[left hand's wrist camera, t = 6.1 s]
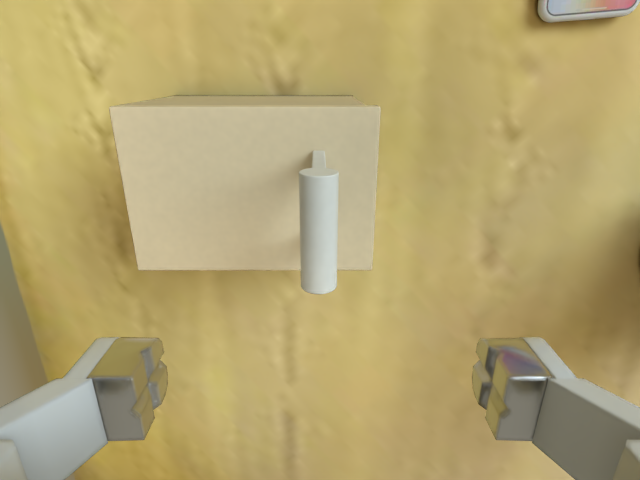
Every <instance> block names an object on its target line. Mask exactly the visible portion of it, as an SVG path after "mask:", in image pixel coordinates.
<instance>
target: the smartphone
mask: <svg viewBox="0 0 640 480" xmlns="http://www.w3.org/2000/svg"><path fill="white" fill-rule="evenodd" d="M639 2H640V0H539V1H538V14H539V16H540V18H541V19H542V20H544V21H545V22H562V21H574V20H589V19H598V18H610V17H621V16H625V15H628V14H629V13H631V12H632V11H633V10H634V9H635V8H636V7H637V6H638V4H639Z"/></svg>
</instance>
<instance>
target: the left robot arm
mask: <svg viewBox="0 0 640 480" xmlns="http://www.w3.org/2000/svg"><path fill="white" fill-rule="evenodd" d="M163 353H164V349H163V344H162V341H161V340H160V339H159V338H135V337H120V338H119V337H100V338H98V339H96V340H95V341H94V342H93V343H92V344H91V346H90V347H89V348H88V349H87V350H86V352H85V353H84V354H83V355H82V356H81V357H80V359H79V360H78V361H77V362H76V363H75V364H74V366H73V367H72V368H71V369H70V370H69V372H68V373H67V374H66V375H65V376H64V377H63V379H54V380H53V381H51V382H49V383H47V384H45V385H43V386H41V387H39V388H37V389H35V390H33V391H31V392H29V393H27V394H25V395H23V396H22V397H20V398H18V399H16V400H14V401H12V402H10V403H8V404H6V405H4V406H2V407H0V480H65V479H66V478H67V477H68V476H70V475H71V474H72V473H73V472H74V471H75V470H77V469H78V468H79V467H80V466H81V465H82V464H84V463H85V462H86V461H87V460H88V459H90V458H91V457H92V456H93V455H94V454H95V453H97V452H98V451H99V450H100V449H101V448H102V447H104V446H105V445H106V444H107V443H108V441H124V440H144V439H145V437H146V435H147V433H148V431H149V429H150V427H151V425H152V423H153V420H154V418H155V417H154V411H153V410H154V409H155V408H157V407H158V406H159V405H161V404H162V402H163V399H164V397H165V395H166V390H167V385H168V372H167V366H166V365H165V364H164V363H163V362H162V361H161V360H160V359H161V357H162V355H163ZM476 353H477V355H478V357H479V359H480V360H479V361H478V362H477V363H476V364H475V365H474V366H473V373H472V384H473V391H474V394H475V397H476V399H477V402H478V404H479V405H481V406H482V407H483V408H485V409H486V410H487V411H486V417H485V418H486V421H487V423H488V425H489V427H490V429H491V431H492V433H493V435H494V437H495V439H496V440H515V441H532V443H533V444H534V445H535V446H537V447H538V448H539V449H540V450H541V451H542V452H544V453H545V454H546V455H547V456H548V457H549V458H551V459H552V460H553V461H554V462H555V463H556V464H558V465H559V466H560V467H561V468H562V469H564V470H565V471H566V472H567V473H568V474H569V475H571V476H572V477H573V478H574V479H575V480H640V407H638V406H636V405H634V404H632V403H630V402H628V401H626V400H624V399H622V398H620V397H618V396H616V395H615V394H613V393H611V392H609V391H607V390H605V389H603V388H601V387H599V386H597V385H595V384H593V383H591V382H589V381H587V380H586V379H577V377H576V376H575V375H574V374H573V373H572V372H571V370H570V369H569V368H568V367H567V366H566V365H565V363H564V362H563V361H562V360H561V359H560V357H559V356H558V355H557V354H556V353H555V352H554V350H553V349H552V348H551V347H550V346H549V345H548V343H547V342H546V341H545V340H544V339H543V338H540V337H520V338H480V339H479V341H478V343H477V348H476Z"/></svg>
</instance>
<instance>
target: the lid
mask: <svg viewBox="0 0 640 480" xmlns="http://www.w3.org/2000/svg"><path fill="white" fill-rule="evenodd" d="M109 111H110V117H111V122H112V128H113V133H114V139H115V144H116V150H117V155H118V161H119V166H120V172H121V177H122V183H123V189H124V194H125V200H126V205H127V211H128V216H129V222H130V227H131V233H132V238H133V244H134V249H135V255H136V261H137V266H138V270H301V287H302V289H303V290H304V291H306V292H308V293H312V294H325V293H329V292H332V291H333V290H335V288H336V286H337V270H372V263H373V244H374V225H375V206H376V187H377V168H378V149H379V130H380V111H381V108H380V107H379V106H377V105H117V106H111V107H109Z"/></svg>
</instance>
